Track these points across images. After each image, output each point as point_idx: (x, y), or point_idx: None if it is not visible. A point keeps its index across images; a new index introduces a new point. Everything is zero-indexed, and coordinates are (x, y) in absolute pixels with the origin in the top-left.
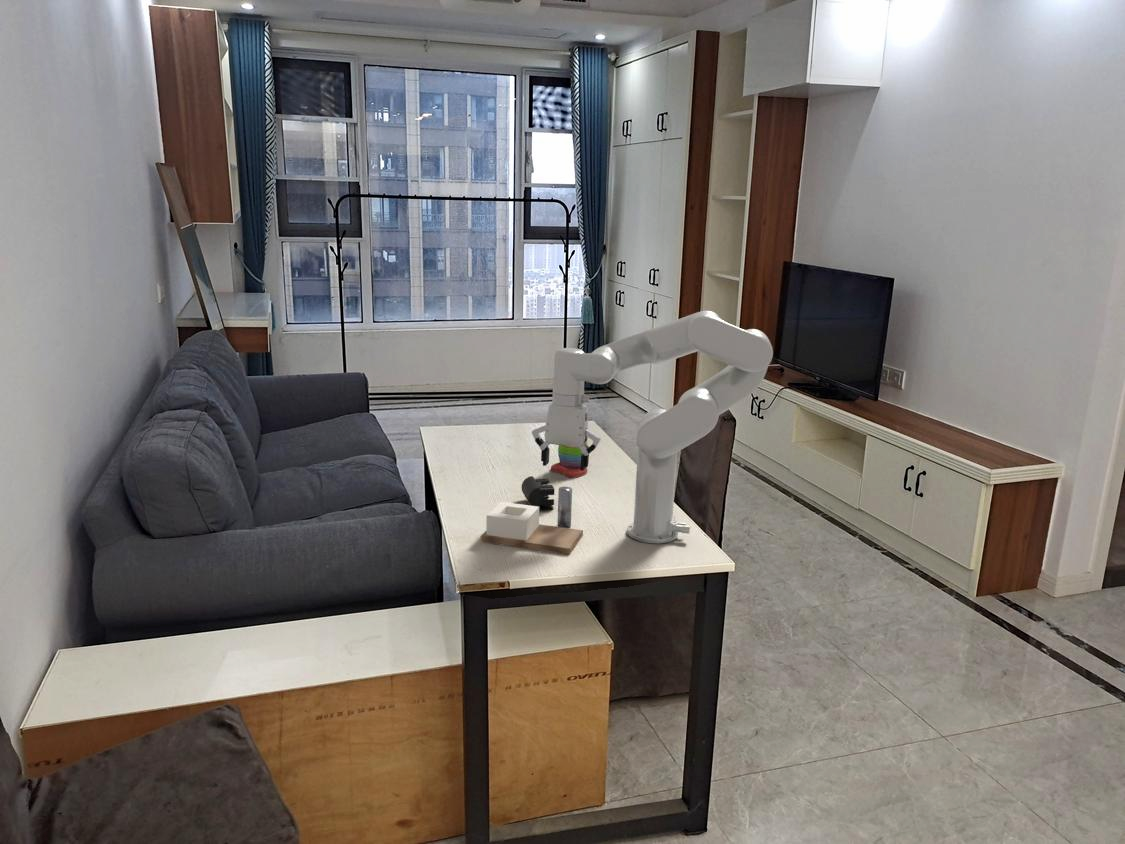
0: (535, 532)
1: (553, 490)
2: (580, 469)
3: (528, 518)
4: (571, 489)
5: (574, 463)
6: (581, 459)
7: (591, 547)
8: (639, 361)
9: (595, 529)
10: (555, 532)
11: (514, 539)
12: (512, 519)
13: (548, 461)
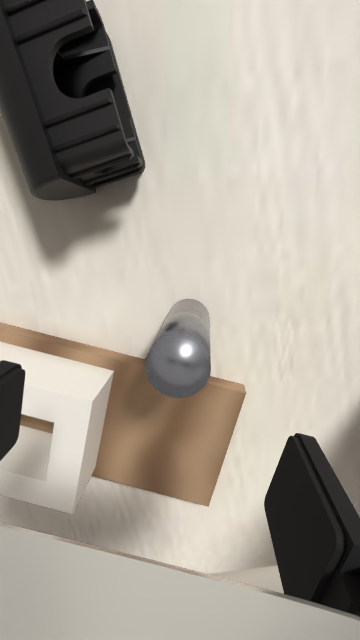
0: (111, 417)
1: (125, 152)
2: (265, 508)
3: (74, 499)
4: (207, 375)
5: None
6: (288, 592)
7: (264, 453)
8: None
9: (285, 333)
10: (165, 414)
11: None
12: (29, 501)
13: (18, 385)
